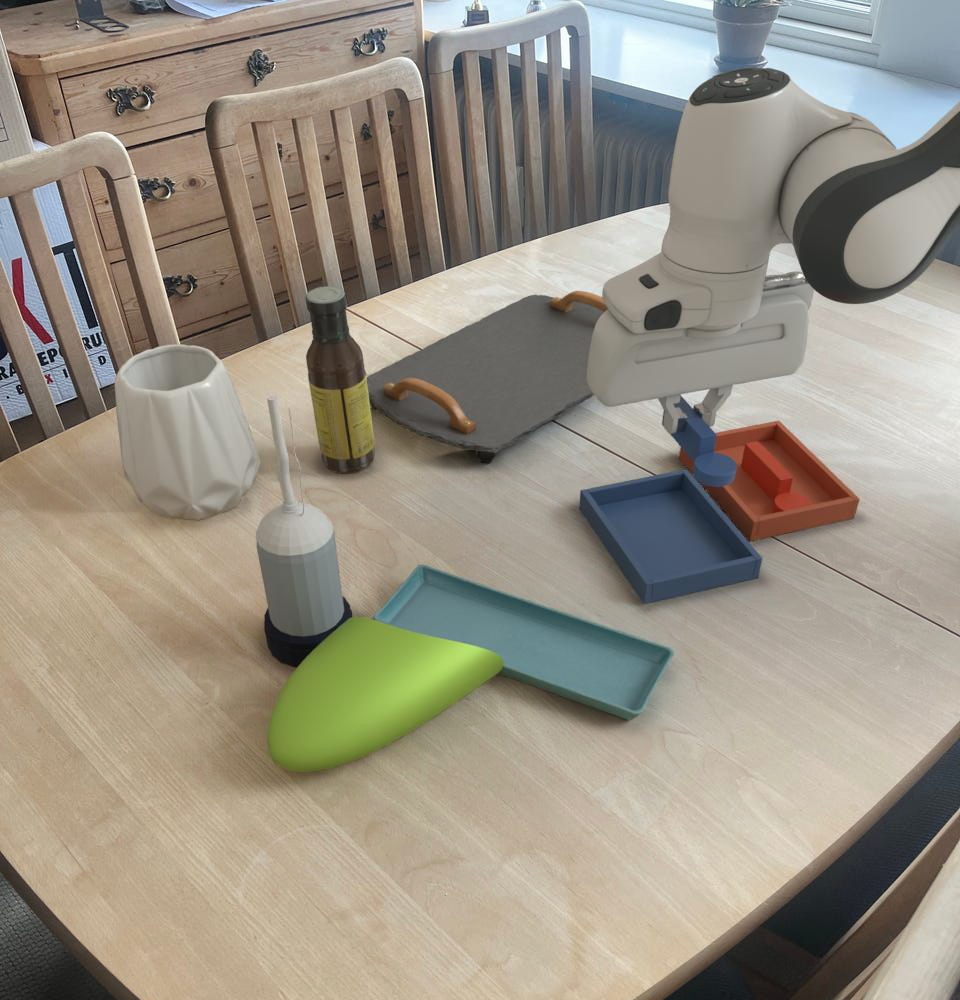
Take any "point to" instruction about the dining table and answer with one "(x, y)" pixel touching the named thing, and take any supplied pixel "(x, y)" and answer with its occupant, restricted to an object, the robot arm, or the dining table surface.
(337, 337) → the sauce bottle
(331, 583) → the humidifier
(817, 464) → the tray red
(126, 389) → the vase
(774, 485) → the red bar with disc
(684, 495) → the tray blue
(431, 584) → the shallow long dish
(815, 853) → the dining table surface
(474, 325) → the serving tray
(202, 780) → the dining table surface
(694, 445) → the spoon blue
